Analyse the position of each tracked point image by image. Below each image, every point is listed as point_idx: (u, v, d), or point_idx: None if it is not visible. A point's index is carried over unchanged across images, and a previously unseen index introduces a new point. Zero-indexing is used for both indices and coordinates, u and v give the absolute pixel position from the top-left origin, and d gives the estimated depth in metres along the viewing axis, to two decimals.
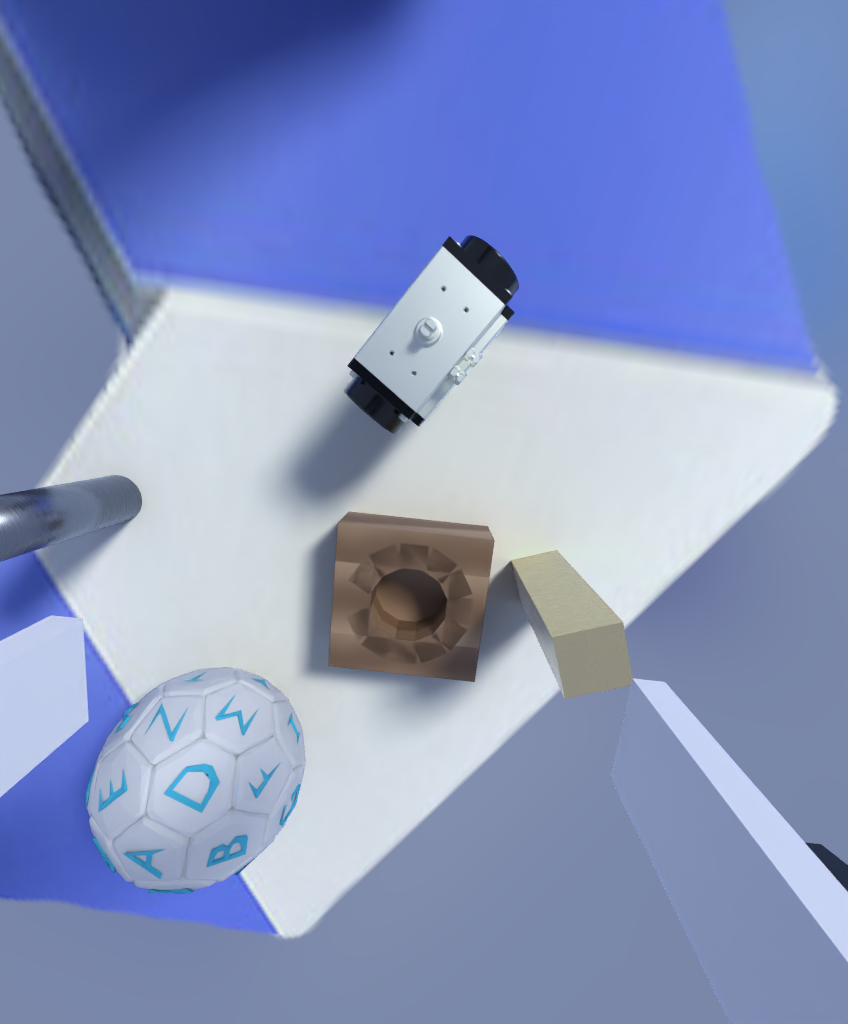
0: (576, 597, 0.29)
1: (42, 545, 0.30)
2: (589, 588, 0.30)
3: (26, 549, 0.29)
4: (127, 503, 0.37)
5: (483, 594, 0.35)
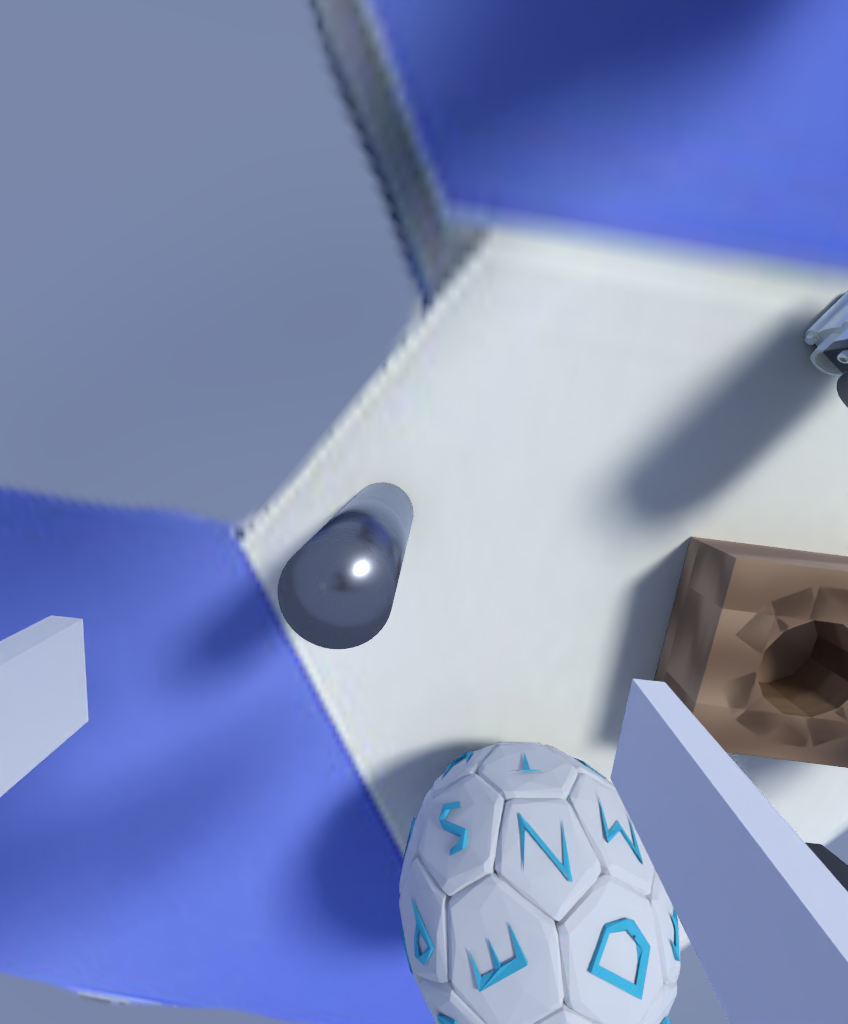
0: None
1: None
2: None
3: None
4: (411, 521, 0.27)
5: None
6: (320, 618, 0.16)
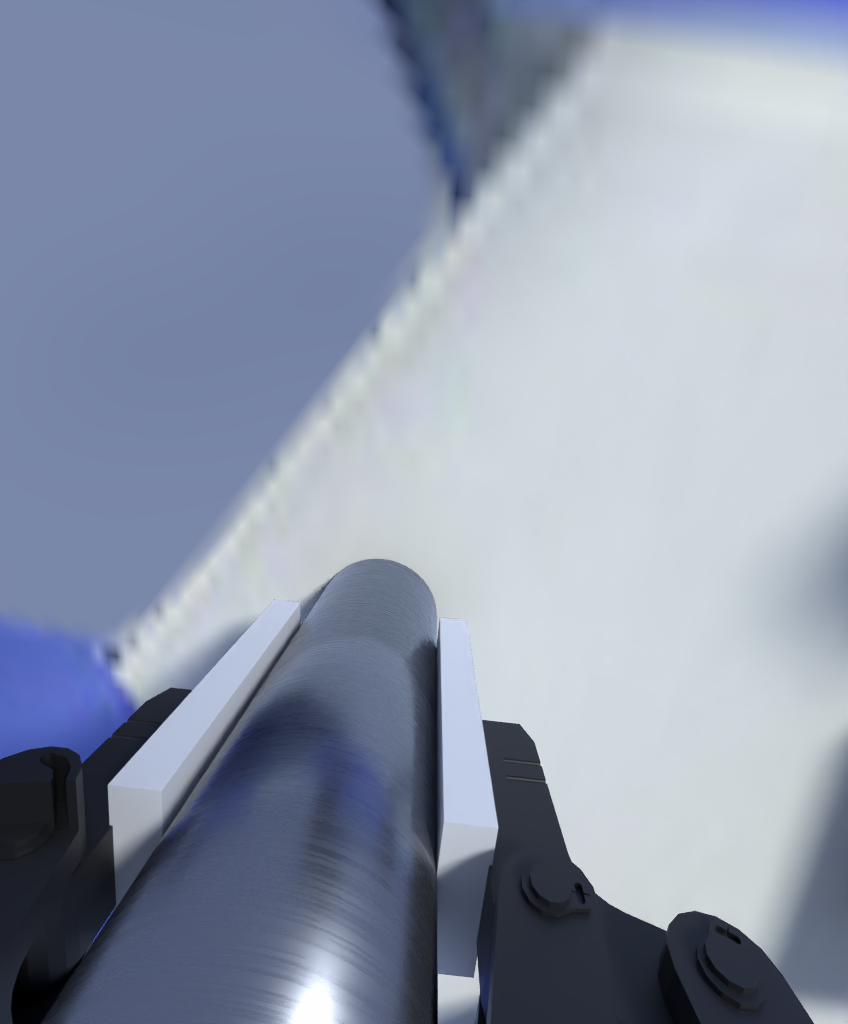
0: None
1: None
2: None
3: None
4: None
5: None
6: None
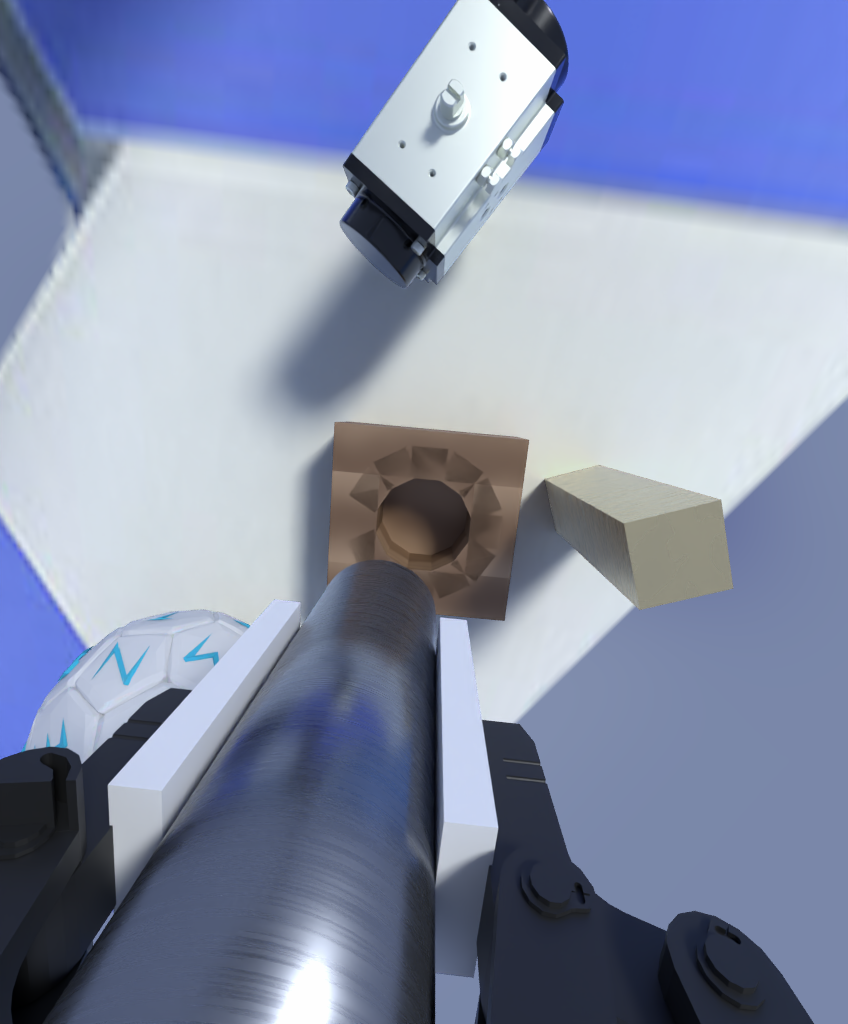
0: (642, 491, 0.23)
1: None
2: (657, 483, 0.23)
3: None
4: None
5: (515, 510, 0.28)
6: None
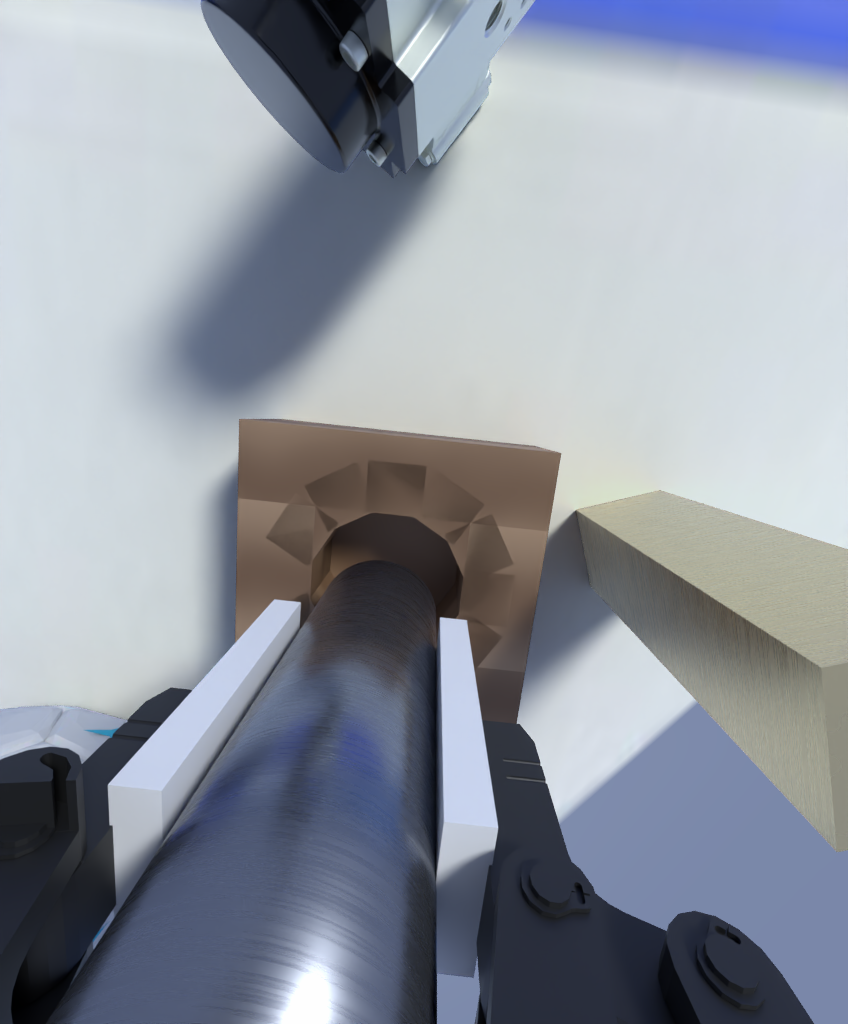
0: (792, 560, 0.12)
1: None
2: (809, 540, 0.13)
3: None
4: None
5: (535, 566, 0.17)
6: None
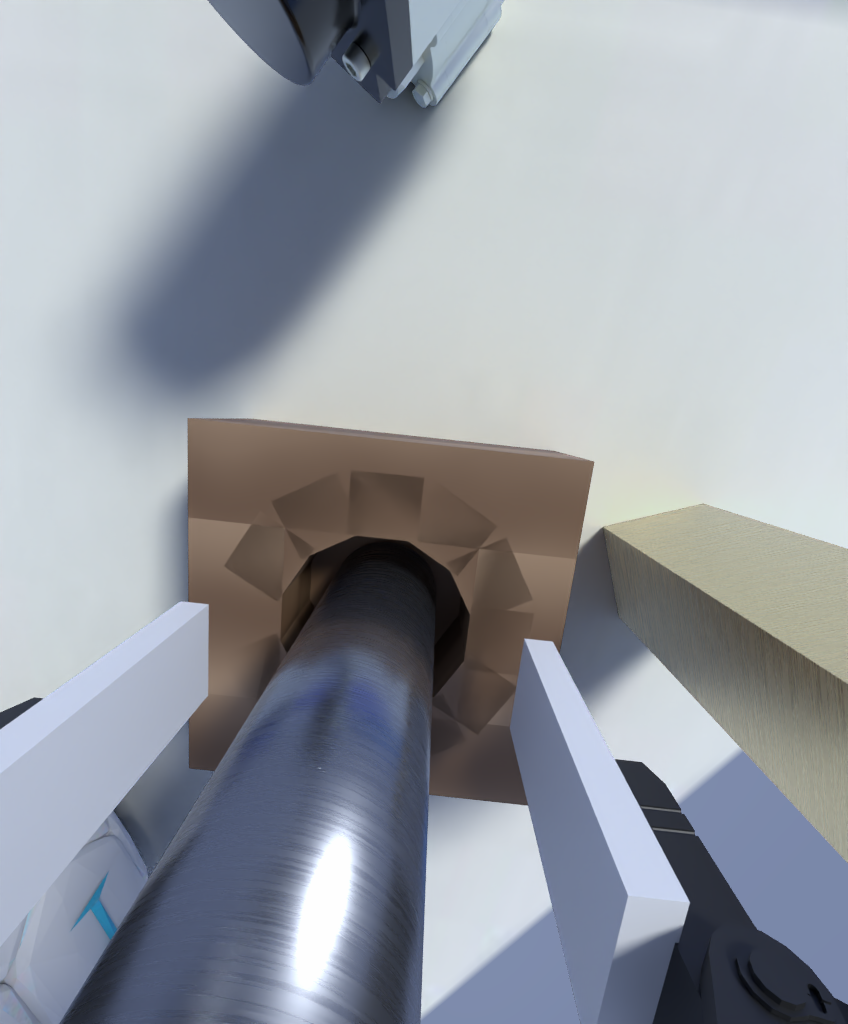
0: None
1: None
2: None
3: None
4: None
5: (560, 601, 0.14)
6: None
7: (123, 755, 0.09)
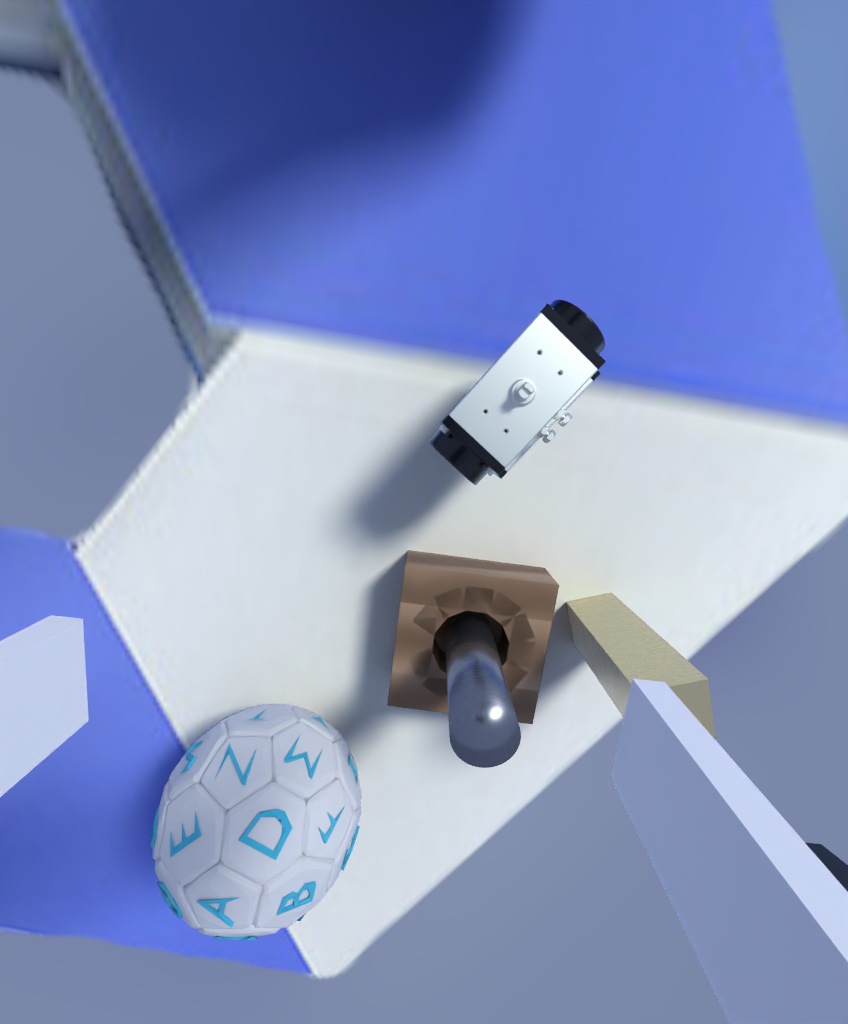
0: (649, 648, 0.30)
1: None
2: (660, 638, 0.31)
3: None
4: None
5: (545, 638, 0.35)
6: (475, 749, 0.25)
7: None
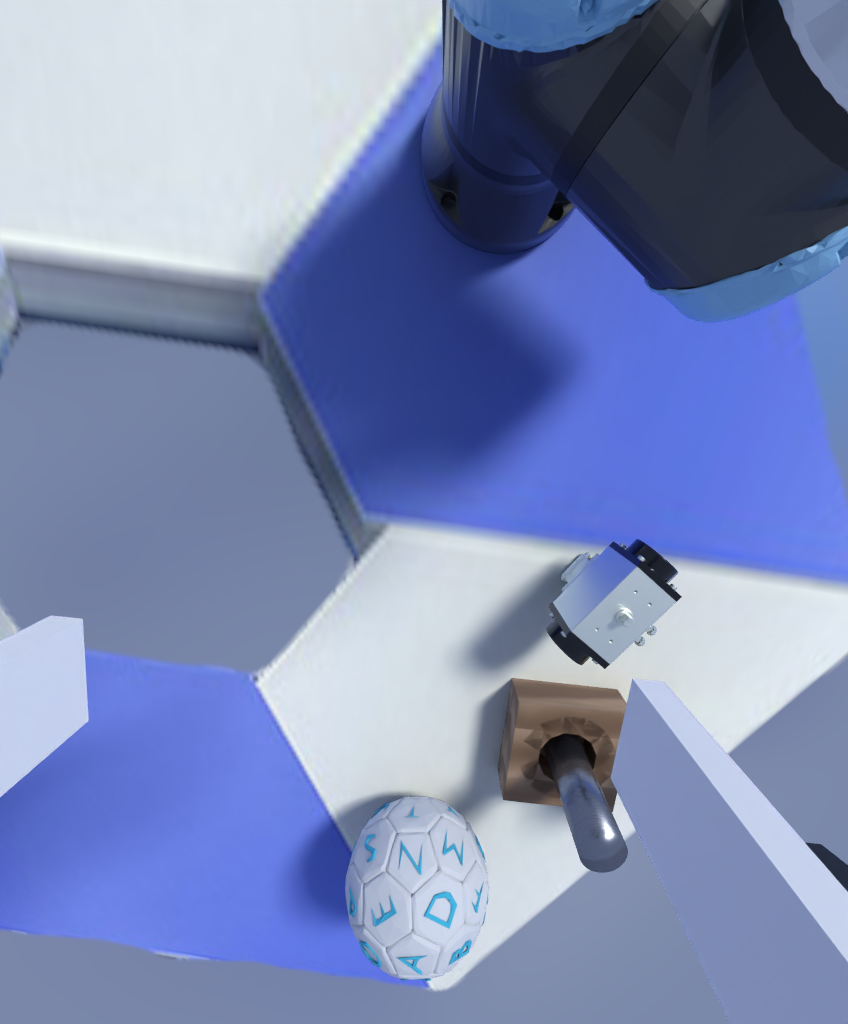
0: None
1: None
2: None
3: None
4: None
5: None
6: (596, 861, 0.38)
7: None
